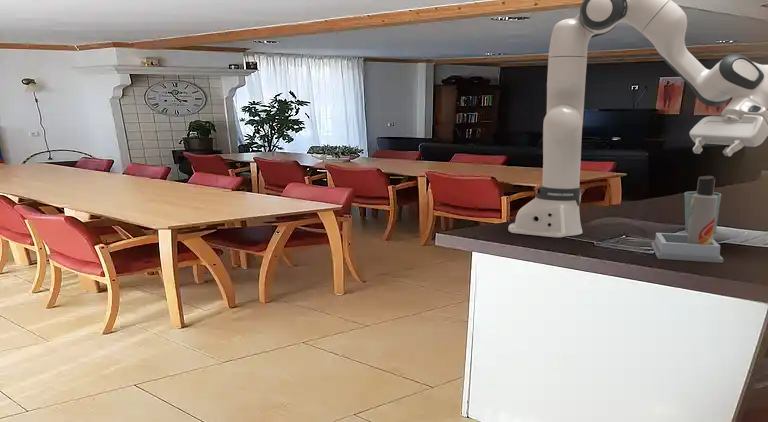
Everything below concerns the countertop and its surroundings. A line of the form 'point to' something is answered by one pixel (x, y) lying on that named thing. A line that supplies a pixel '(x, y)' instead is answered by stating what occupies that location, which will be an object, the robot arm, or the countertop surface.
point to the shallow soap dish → (685, 249)
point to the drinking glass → (688, 207)
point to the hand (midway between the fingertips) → (710, 153)
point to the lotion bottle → (702, 212)
